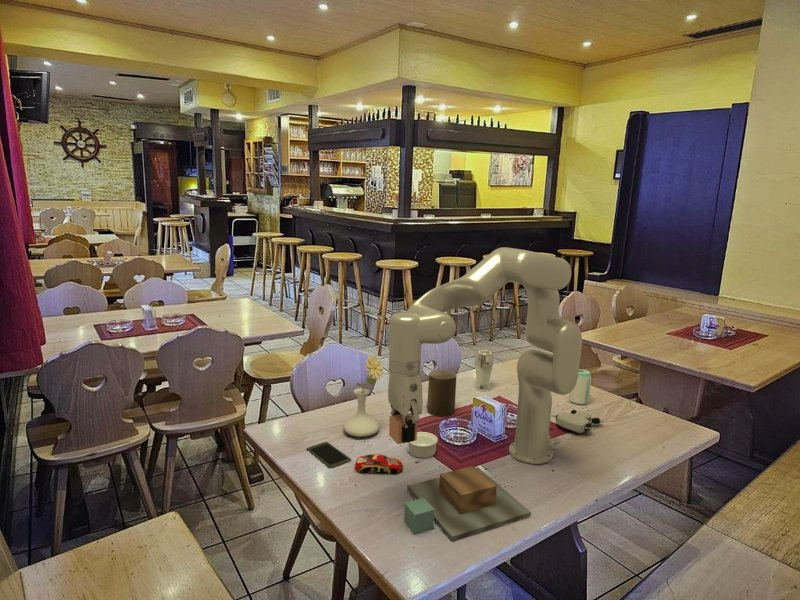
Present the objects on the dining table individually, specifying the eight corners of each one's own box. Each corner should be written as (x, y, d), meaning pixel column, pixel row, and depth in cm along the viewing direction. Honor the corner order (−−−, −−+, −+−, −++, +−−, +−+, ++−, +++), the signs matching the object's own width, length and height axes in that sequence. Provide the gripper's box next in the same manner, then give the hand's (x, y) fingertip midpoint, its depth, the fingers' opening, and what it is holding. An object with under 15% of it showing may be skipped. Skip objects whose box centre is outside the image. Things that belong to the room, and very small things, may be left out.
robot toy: (570, 417, 180) (548, 426, 170) (572, 405, 180) (550, 413, 169) (604, 429, 172) (583, 439, 161) (606, 416, 171) (585, 426, 161)
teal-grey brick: (423, 516, 121) (423, 497, 120) (433, 529, 117) (434, 509, 116) (404, 522, 119) (404, 502, 118) (414, 534, 115) (414, 514, 114)
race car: (403, 466, 144) (403, 452, 143) (402, 476, 139) (403, 462, 138) (356, 463, 144) (356, 450, 144) (354, 474, 139) (354, 460, 138)
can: (564, 399, 193) (567, 369, 191) (579, 397, 196) (582, 367, 194) (578, 406, 187) (581, 375, 185) (592, 403, 190) (596, 373, 188)
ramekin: (418, 462, 146) (419, 448, 145) (401, 449, 153) (401, 436, 152) (443, 454, 151) (443, 441, 150) (425, 442, 158) (425, 429, 157)
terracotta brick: (407, 431, 128) (407, 412, 127) (416, 440, 123) (417, 421, 122) (389, 435, 125) (389, 416, 124) (397, 444, 121) (398, 424, 120)
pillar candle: (447, 419, 174) (449, 377, 171) (422, 412, 179) (423, 371, 176) (459, 409, 182) (461, 369, 179) (435, 403, 187) (437, 364, 184)
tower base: (478, 471, 142) (479, 450, 140) (530, 516, 122) (532, 493, 121) (407, 489, 132) (407, 467, 131) (451, 541, 113) (453, 516, 111)
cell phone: (326, 443, 156) (326, 441, 156) (352, 462, 146) (352, 459, 145) (305, 450, 151) (305, 448, 151) (330, 470, 141) (330, 467, 141)
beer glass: (481, 384, 207) (483, 348, 204) (495, 389, 202) (497, 352, 199) (470, 387, 203) (472, 351, 200) (483, 393, 198) (485, 356, 194)
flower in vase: (355, 443, 155) (355, 365, 150) (336, 429, 164) (336, 355, 159) (390, 432, 163) (392, 357, 158) (370, 419, 172) (372, 348, 167)
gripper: (436, 374, 115) (433, 449, 118) (403, 352, 130) (401, 419, 133) (406, 379, 111) (404, 455, 115) (375, 356, 126) (374, 424, 130)
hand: (402, 435), depth 124 cm, fingers closed on terracotta brick, 4 cm apart
